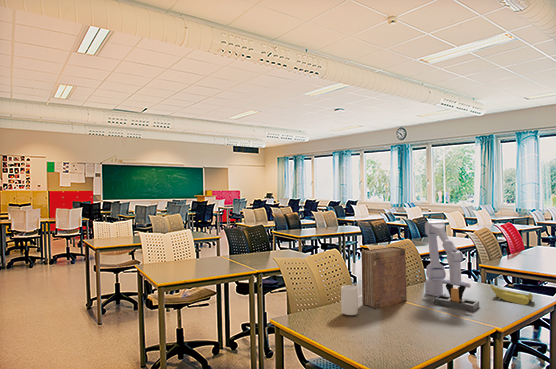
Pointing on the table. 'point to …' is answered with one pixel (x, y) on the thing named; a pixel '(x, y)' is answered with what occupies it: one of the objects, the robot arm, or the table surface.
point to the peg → (455, 294)
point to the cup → (349, 300)
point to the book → (383, 277)
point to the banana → (512, 296)
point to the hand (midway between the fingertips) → (456, 298)
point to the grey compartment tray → (457, 303)
